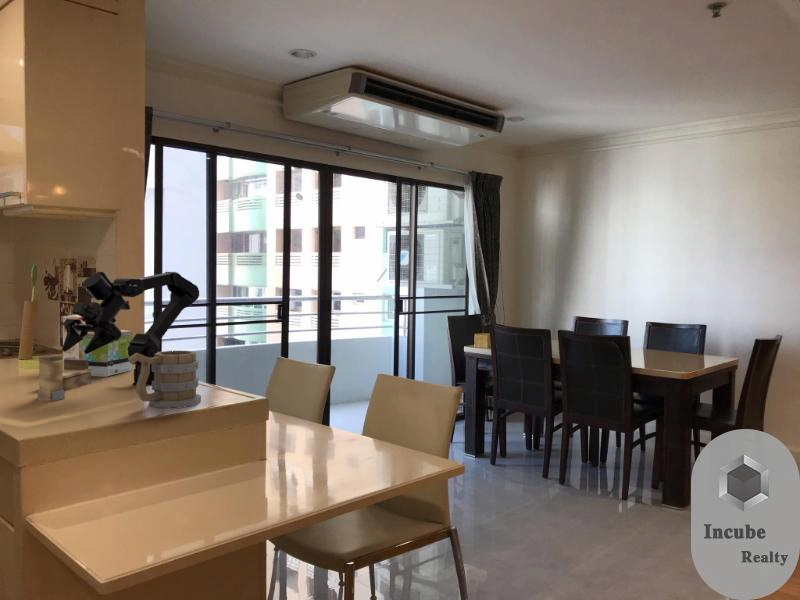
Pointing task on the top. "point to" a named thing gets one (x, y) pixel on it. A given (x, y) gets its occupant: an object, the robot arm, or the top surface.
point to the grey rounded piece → (54, 395)
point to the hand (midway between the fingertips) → (74, 351)
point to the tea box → (108, 356)
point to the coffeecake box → (76, 349)
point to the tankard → (169, 378)
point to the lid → (75, 367)
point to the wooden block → (50, 375)
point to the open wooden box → (76, 381)
